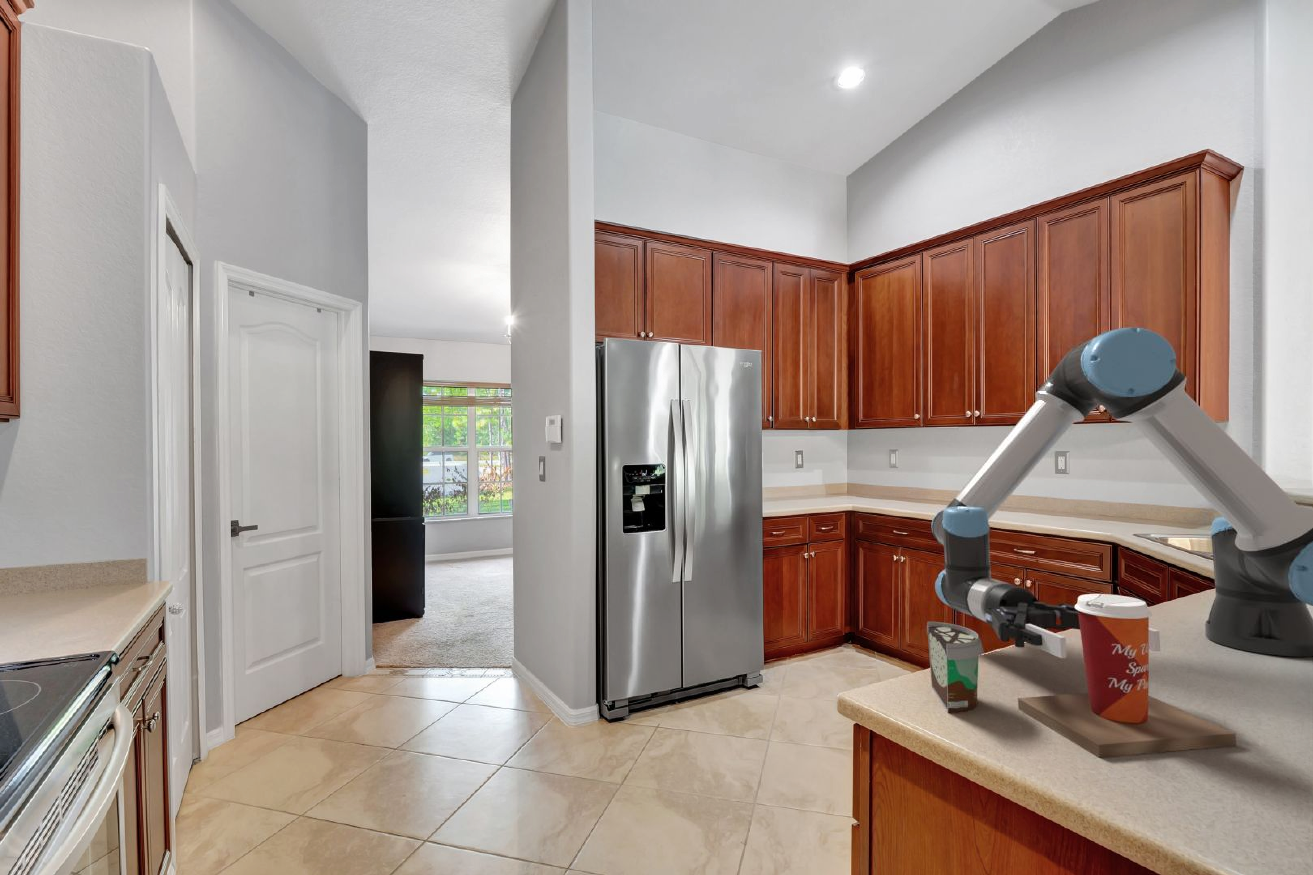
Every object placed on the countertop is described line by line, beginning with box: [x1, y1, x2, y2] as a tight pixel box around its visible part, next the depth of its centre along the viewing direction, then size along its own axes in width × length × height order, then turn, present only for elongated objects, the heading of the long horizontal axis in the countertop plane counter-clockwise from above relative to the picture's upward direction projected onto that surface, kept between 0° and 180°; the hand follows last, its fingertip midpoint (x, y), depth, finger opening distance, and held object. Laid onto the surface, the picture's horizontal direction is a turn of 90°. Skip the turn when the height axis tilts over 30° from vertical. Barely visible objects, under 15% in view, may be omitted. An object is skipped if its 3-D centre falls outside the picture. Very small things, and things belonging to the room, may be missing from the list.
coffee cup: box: [1074, 593, 1153, 724], centre depth 80 cm, size 8×8×15 cm
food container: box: [926, 621, 985, 714], centre depth 89 cm, size 12×6×10 cm, turn 168°
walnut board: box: [1017, 692, 1237, 758], centre depth 80 cm, size 18×14×2 cm
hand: (1111, 644), depth 80 cm, fingers open, 13 cm apart
